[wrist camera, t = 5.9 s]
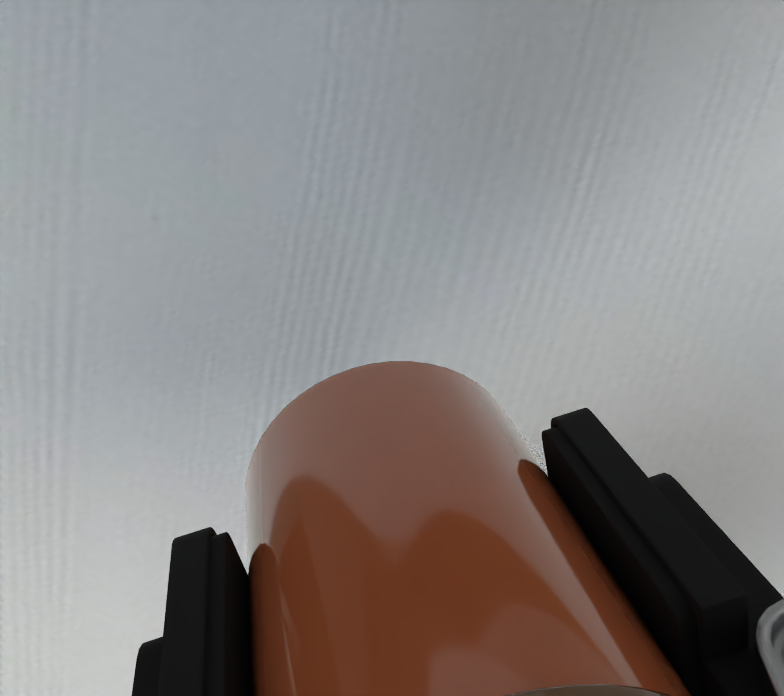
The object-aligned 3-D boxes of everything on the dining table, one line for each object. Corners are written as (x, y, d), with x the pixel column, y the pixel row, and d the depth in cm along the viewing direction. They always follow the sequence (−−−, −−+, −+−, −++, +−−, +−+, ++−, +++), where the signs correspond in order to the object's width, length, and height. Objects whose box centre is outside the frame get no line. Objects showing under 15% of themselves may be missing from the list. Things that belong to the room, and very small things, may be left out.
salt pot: (194, 409, 11) (160, 887, 5) (499, 316, 12) (791, 665, 6) (289, 627, 14) (338, 1133, 8) (540, 544, 14) (779, 965, 8)
